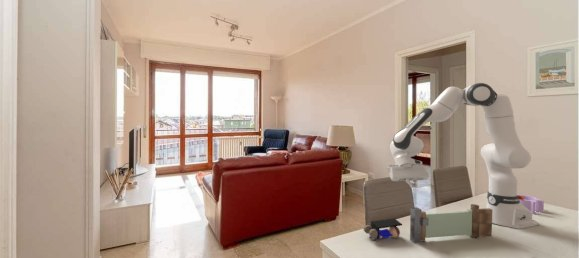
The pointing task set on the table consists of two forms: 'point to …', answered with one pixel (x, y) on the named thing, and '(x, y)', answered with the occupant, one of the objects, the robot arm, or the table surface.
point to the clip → (532, 204)
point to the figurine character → (385, 233)
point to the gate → (447, 224)
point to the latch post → (416, 224)
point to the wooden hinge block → (481, 222)
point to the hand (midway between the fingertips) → (414, 186)
